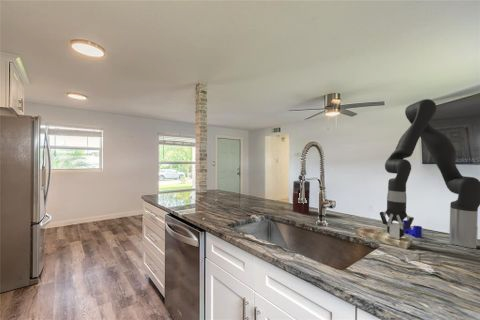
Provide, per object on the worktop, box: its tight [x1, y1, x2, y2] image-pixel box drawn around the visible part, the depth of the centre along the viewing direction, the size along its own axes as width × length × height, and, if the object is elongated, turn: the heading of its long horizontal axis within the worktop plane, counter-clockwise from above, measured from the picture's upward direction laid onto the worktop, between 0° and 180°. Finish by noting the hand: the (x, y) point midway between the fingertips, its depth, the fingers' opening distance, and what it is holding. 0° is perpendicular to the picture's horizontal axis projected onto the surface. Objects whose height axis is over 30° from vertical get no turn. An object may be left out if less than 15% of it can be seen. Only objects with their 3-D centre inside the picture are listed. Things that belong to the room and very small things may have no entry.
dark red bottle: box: [292, 174, 311, 215], centre depth 160 cm, size 9×11×28 cm
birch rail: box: [354, 226, 413, 250], centre depth 107 cm, size 22×10×3 cm, turn 39°
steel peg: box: [389, 222, 402, 241], centre depth 103 cm, size 4×4×9 cm
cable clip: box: [403, 219, 423, 239], centre depth 117 cm, size 12×4×6 cm, turn 171°
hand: (395, 235), depth 103 cm, fingers closed on steel peg, 4 cm apart
